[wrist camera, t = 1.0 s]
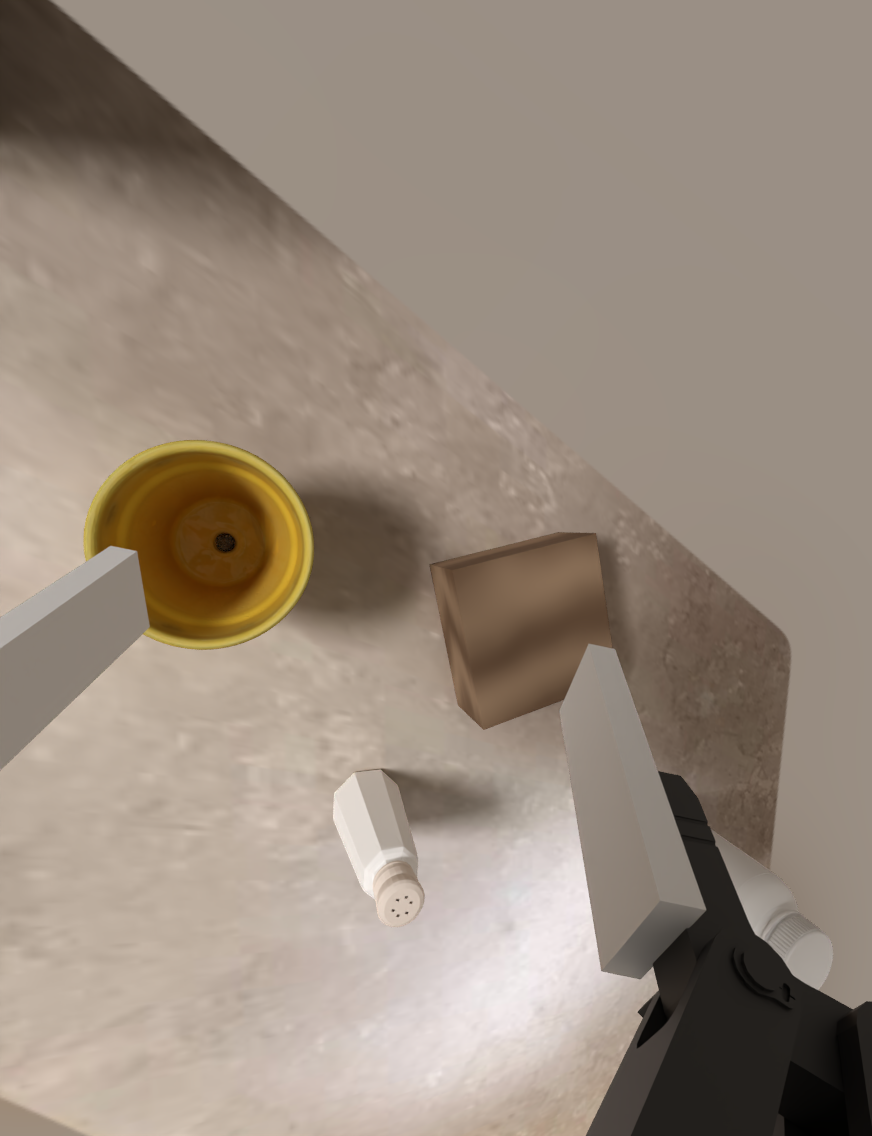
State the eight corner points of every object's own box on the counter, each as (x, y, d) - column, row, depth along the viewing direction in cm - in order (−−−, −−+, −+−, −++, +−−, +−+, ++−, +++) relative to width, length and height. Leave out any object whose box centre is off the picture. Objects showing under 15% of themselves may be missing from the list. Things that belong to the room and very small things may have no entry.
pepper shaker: (348, 759, 36) (379, 851, 26) (409, 777, 38) (461, 870, 28) (318, 825, 36) (338, 945, 26) (382, 840, 38) (423, 958, 28)
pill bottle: (614, 881, 46) (765, 1037, 32) (619, 803, 46) (775, 926, 32) (677, 864, 49) (842, 1002, 35) (683, 790, 48) (852, 899, 34)
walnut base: (429, 564, 37) (452, 570, 33) (558, 532, 41) (595, 533, 36) (458, 705, 39) (483, 729, 34) (578, 662, 43) (617, 679, 38)
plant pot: (321, 494, 34) (340, 483, 25) (278, 631, 34) (281, 671, 25) (165, 440, 31) (119, 404, 21) (115, 593, 30) (48, 622, 21)
